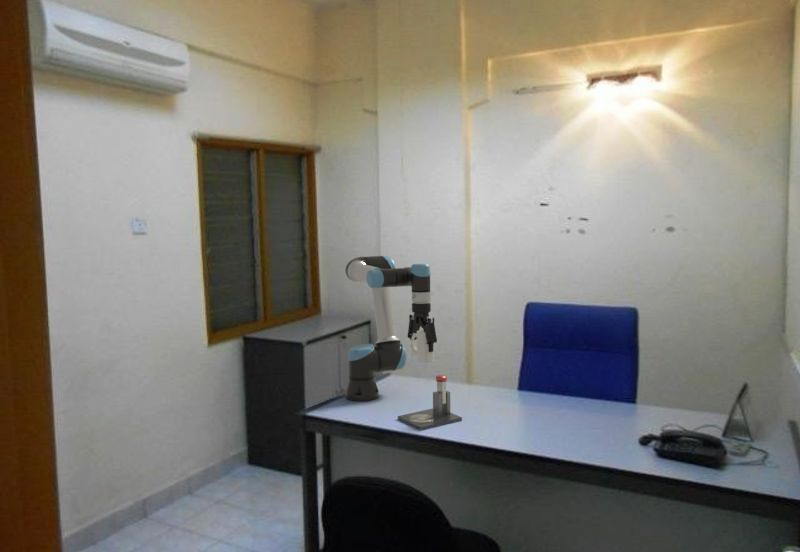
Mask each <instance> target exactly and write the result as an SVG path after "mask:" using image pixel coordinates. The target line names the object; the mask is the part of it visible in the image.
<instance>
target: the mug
mask: <svg viewBox="0 0 800 552" xmlns="http://www.w3.org/2000/svg"><path fill="white" fill-rule="evenodd" d="M415 337H417V339H416V340H417V349H416V348H415V346H414V338H415ZM426 343H427V340H426V335H425V333H424V330H423V329H419V331H417V334H416V333H413V336H412V339H411V340H410V346H411V345H412V347H411V350H412V349H413V352H414V353H417V355H418V356H417V362H418V363H433V362H434V359H433V360H426Z"/></svg>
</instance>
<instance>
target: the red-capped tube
mask: <svg viewBox="0 0 800 552" xmlns="http://www.w3.org/2000/svg"><path fill="white" fill-rule="evenodd" d="M447 381H448V376H447V375H445V374H444V375H443V374H440V375H436V376H435V382H436V392H438V393H441V394H442V404H444V403H446V391H447Z"/></svg>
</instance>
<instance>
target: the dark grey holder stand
mask: <svg viewBox="0 0 800 552" xmlns="http://www.w3.org/2000/svg"><path fill="white" fill-rule="evenodd" d="M397 420H399V421H401V422H403V423H405V424H407V425H409V426H411V427H413V428H415V429H417V430H419V431H423V430H428V429H431V428H436V427H441V426H444V425H449V424H452V423H453V424H454V423H456V422H460V421H463V417H461V416H459V415H458V414H455V413H453V412H451V392H450V391H448V390H446V403H444V404H442V394H441V393H438V392H437V391H433V392H432V408H428V409H424V410H420V411H415V412H411V413H406V414H401V415H398V416H397Z"/></svg>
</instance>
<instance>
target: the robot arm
mask: <svg viewBox="0 0 800 552" xmlns="http://www.w3.org/2000/svg"><path fill="white" fill-rule="evenodd" d="M345 275H346V277H347V278H348V279H349V280H350V281H352V282H353V281H354V282H363V283H366V284H367V285H368V287H369V288H371V290H372V298H373V306H374V314H375V323H376V324H375V325H376V331H377V340H376V341H375V345H374V344H373V343H361V344H356V345H354V346H352V347H351V348H350V349H348V357H347V360H348V383H347V385H346V389H345V398H346V400H349V401H355V402H366V401H373V400H375V399H377V398H379V396H380V395H379V394H380V391H379V388H378V386H377V382H376V378H375V376H376V375H375V373H381V372H383V373H384V372H391V371H392V372H395V371H398V370H402V369H403V368H404V367H405V365H406V362H407V347H406V345H405V344H403V343H401V339H400V338H398V337H397V331H396V322H395V314H394V307H393V298H392V290H391V288H392V287H395V288H396V287H398V288H399V287H411V302H412V303H411V311H412V313H413V314H409V315H408V316H409V317H408V318H409V319H408V320H409V321H408V328H407V329H408V330H407V338H408V339H409V340H410V341H411V339H412V336H413V333H416V334H417V331H419V330H421V328H422V330H424V333H425V335H426V340H427V343H426V360H433V361H434V344H435V343H437V342H438V339H437V332H436V327H435V326H436V325H435V317H431V316H430V312H431V311H432V310H431V307H432V306H431V305H432V304H431V299H432V298H431V297H432V296H431V267H430V265H429V263H412V264H411V267H410V266H407V267H401V268H400V267H399V268H397V267H396V264H395V261H394V260H393V258H391V256H387V255H378V256H377V255H373V256H357V257H354V258H352V259H350V261H348V262H347V264H346V266H345ZM414 346H415V348H416V349H417V337H415V338H414ZM410 348H411V357H418V355H417V353H414V352H413V349H412V345H411V344H410Z"/></svg>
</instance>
